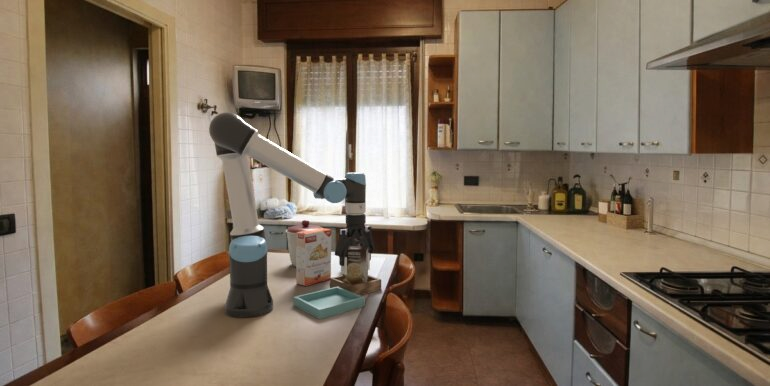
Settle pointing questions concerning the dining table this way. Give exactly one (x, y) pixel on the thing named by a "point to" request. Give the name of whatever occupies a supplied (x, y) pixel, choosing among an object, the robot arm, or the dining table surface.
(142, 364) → the dining table surface
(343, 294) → the tray
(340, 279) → the holder
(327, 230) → the cracker box
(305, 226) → the canister
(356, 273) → the coffee box
